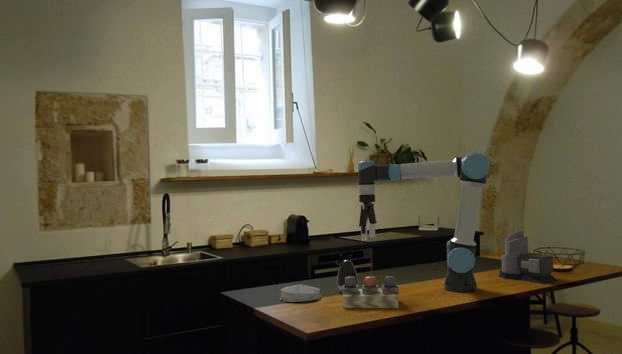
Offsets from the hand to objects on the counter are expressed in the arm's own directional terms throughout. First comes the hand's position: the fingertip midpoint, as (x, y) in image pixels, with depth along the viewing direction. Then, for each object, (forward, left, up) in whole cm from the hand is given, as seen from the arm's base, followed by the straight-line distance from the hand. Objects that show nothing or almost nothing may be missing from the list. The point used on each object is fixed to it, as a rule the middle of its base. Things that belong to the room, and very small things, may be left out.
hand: (368, 239), depth 257 cm
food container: (+24, +23, -26) cm, 42 cm away
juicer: (-57, -65, -26) cm, 90 cm away
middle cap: (-10, +20, -18) cm, 28 cm away
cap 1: (-2, +24, -18) cm, 30 cm away
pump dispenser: (+11, +2, -26) cm, 28 cm away
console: (-10, +20, -25) cm, 34 cm away
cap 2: (-18, +16, -18) cm, 30 cm away
